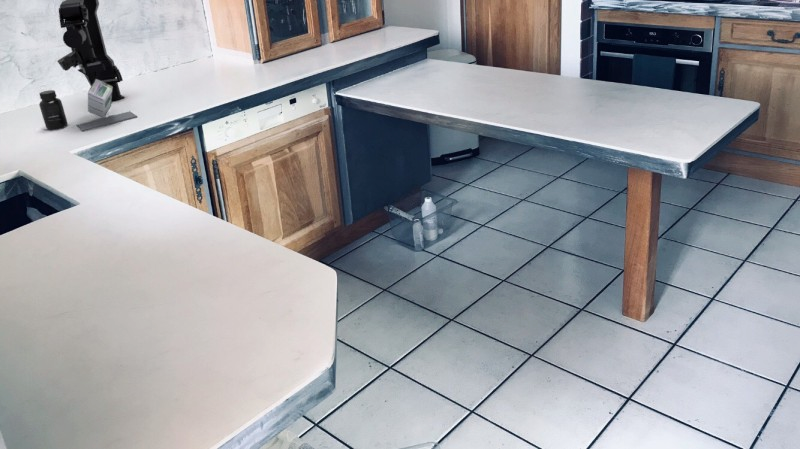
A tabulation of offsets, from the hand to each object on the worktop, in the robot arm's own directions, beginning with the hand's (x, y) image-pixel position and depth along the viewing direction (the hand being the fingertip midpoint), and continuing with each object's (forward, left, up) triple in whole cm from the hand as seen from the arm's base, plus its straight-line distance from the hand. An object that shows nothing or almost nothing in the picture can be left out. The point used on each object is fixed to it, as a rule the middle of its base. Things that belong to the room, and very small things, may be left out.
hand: (94, 90), depth 243 cm
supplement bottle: (-4, -14, -10) cm, 18 cm away
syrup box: (-2, 0, -7) cm, 7 cm away
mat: (+5, 0, -10) cm, 11 cm away
